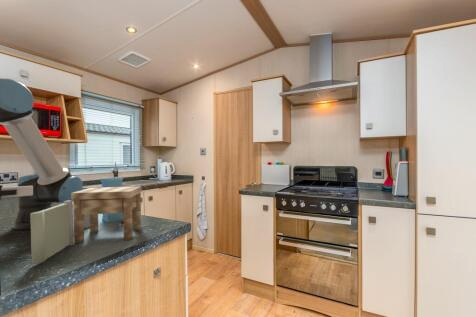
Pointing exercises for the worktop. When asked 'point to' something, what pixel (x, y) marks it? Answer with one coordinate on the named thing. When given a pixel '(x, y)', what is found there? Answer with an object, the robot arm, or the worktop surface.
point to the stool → (107, 208)
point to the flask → (86, 221)
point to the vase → (112, 183)
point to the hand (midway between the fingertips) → (32, 190)
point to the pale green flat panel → (51, 231)
